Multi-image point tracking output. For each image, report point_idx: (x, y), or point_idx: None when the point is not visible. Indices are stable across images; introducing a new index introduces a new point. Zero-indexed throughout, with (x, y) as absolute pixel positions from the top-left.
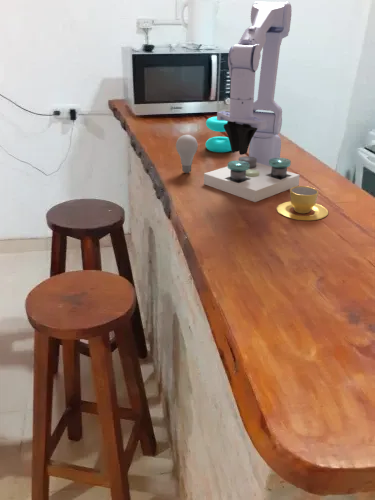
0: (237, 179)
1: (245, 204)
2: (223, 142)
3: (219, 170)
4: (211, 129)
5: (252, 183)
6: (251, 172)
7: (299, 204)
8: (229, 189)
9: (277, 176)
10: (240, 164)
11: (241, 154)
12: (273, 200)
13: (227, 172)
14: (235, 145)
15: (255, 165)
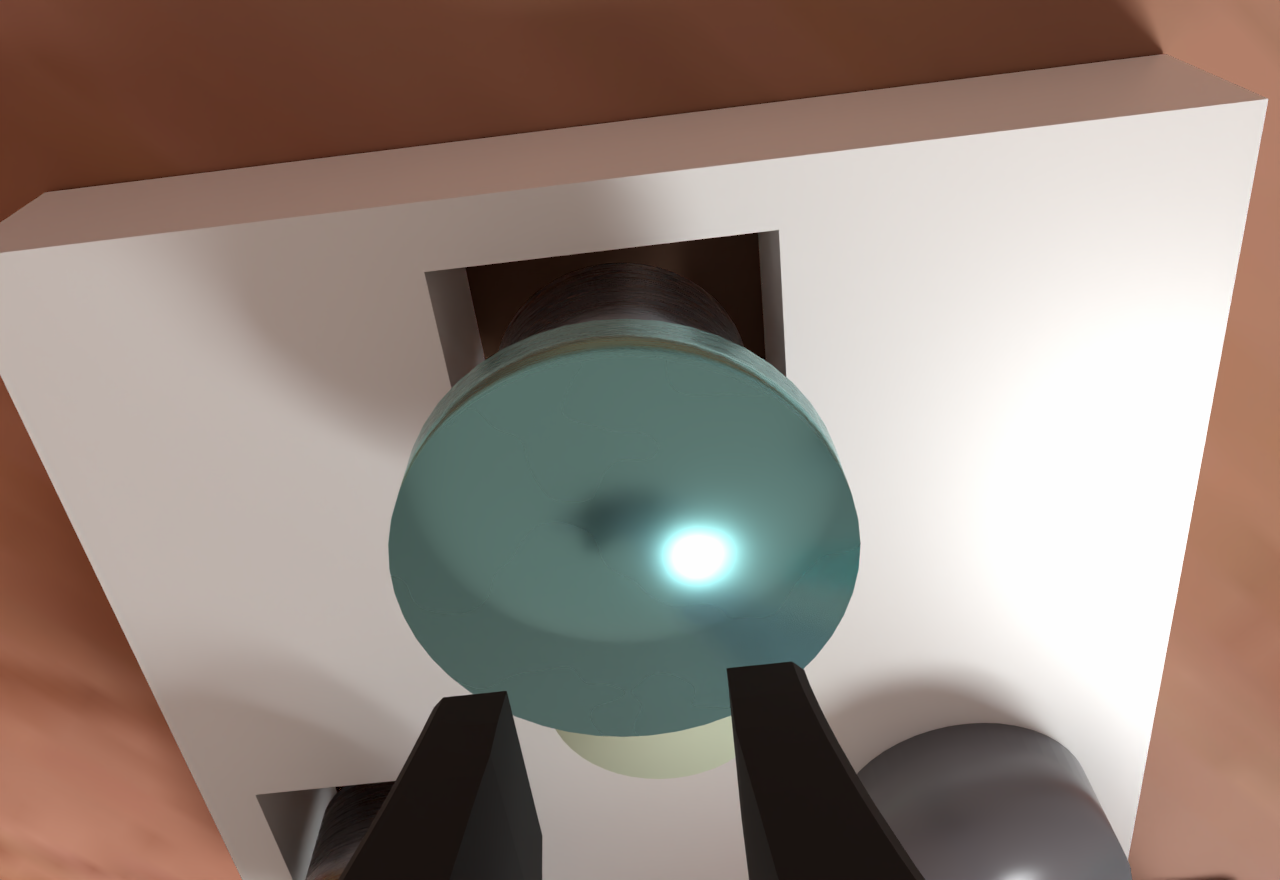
0: (518, 334)
1: (14, 5)
2: None
3: (1139, 425)
4: None
5: (296, 439)
6: None
7: None
8: (565, 142)
9: (341, 827)
10: (565, 569)
11: (438, 705)
12: (22, 438)
13: (967, 463)
14: (759, 877)
15: None
